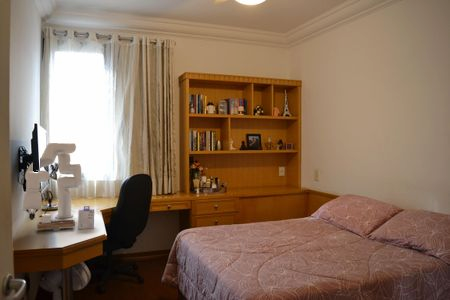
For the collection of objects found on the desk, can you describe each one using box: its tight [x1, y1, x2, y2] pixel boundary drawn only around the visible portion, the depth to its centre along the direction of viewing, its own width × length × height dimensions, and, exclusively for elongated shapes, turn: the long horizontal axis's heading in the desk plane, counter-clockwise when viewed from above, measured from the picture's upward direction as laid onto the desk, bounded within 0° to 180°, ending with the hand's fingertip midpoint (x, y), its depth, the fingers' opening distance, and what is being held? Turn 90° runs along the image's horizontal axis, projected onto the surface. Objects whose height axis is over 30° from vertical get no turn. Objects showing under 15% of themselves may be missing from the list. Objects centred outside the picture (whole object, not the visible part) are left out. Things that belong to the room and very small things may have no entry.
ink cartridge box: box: [77, 205, 95, 230], centre depth 229 cm, size 10×6×14 cm, turn 109°
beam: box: [36, 219, 76, 232], centre depth 223 cm, size 9×22×5 cm, turn 117°
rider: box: [41, 213, 52, 224], centre depth 220 cm, size 4×5×6 cm
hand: (31, 219), depth 216 cm, fingers closed
